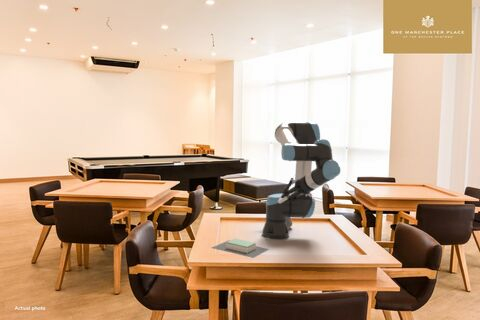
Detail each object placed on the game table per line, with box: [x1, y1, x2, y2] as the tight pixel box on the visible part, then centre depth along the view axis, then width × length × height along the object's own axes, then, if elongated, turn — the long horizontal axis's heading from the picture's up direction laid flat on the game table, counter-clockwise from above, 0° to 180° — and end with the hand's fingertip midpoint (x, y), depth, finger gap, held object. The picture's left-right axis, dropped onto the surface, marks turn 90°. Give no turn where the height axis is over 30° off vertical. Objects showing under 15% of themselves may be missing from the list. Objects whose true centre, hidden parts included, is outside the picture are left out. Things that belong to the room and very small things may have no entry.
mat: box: [211, 240, 270, 259], centre depth 184 cm, size 24×16×1 cm, turn 58°
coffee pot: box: [258, 202, 293, 230], centre depth 228 cm, size 21×12×15 cm, turn 87°
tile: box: [226, 238, 257, 253], centre depth 183 cm, size 3×8×12 cm
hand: (279, 200), depth 185 cm, fingers closed
